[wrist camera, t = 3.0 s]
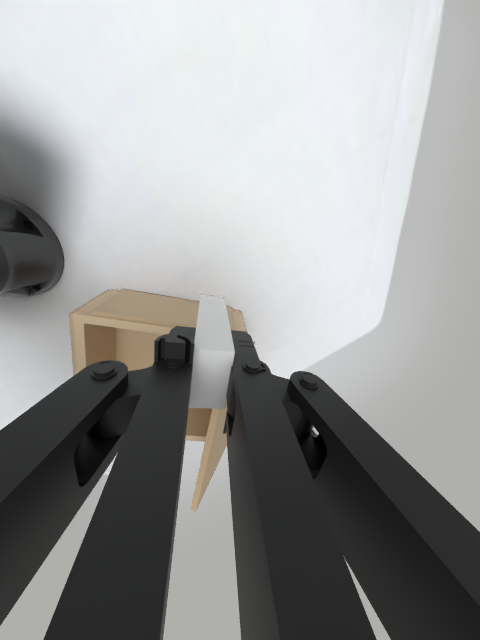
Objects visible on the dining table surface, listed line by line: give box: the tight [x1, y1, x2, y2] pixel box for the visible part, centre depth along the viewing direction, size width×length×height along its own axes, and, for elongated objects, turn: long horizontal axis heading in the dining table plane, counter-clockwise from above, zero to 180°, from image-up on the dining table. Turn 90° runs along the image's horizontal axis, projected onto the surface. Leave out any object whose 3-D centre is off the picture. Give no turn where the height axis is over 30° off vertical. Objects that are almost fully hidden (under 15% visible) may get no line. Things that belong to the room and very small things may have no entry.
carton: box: [69, 289, 247, 441], centre depth 41 cm, size 25×23×12 cm
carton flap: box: [191, 342, 255, 511], centre depth 32 cm, size 12×22×1 cm
